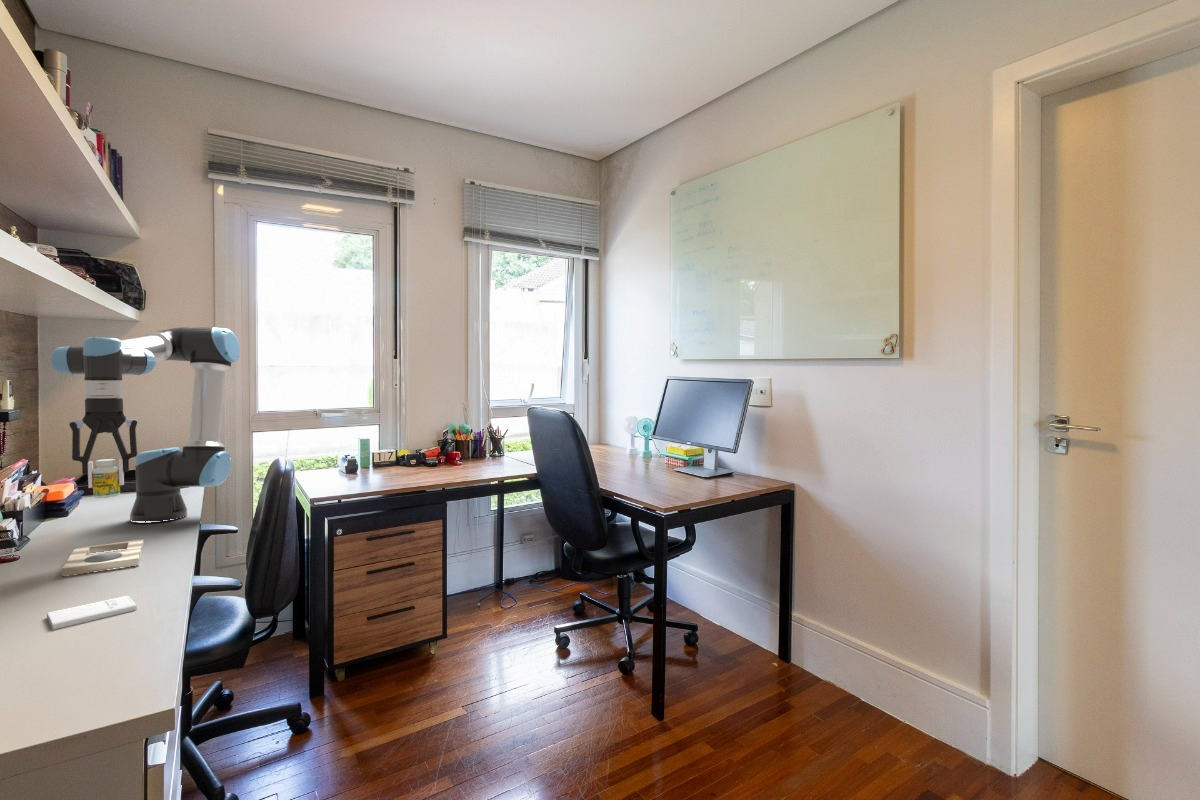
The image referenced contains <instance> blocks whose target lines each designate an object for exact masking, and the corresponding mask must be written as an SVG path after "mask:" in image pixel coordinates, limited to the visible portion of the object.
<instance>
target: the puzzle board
mask: <svg viewBox="0 0 1200 800" xmlns="http://www.w3.org/2000/svg"><path fill="white" fill-rule="evenodd" d="M118 549H126V550H121V551H113V552H106V553H98V554H90V553H96V552H104V551H111V550H118ZM142 549H143V550H144V539H137V540H127V541H122V542H121V541H119V542H112V543H106V544H96V545H90V546H89V545H88V546H81V547H74V550H73V551H72V553H71V554H70V556H68V558H67V560H66V561H65V564H64V565H63V567H62V569H61V573H62V576H67V575H74V574H81V575H83V574H82V573H87V574H89V573H88V572H94V571H100V570H107V569H113V568H120V567H129V566H135V565H139V566H140V563H139V562H141V559H140V557H141V558H142V554H141V553H143V550H142ZM89 554H90V555H89ZM135 567H136V566H135ZM129 568H130V567H129ZM94 573H95V572H94ZM62 576H61V577H62ZM74 576H75V575H74ZM67 577H68V576H67Z"/></svg>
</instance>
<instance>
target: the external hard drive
mask: <svg viewBox="0 0 1200 800" xmlns="http://www.w3.org/2000/svg"><path fill="white" fill-rule="evenodd" d="M137 606H138V605H137V604H136V602H135V601H134V600H133V599H132V597H130V596H129V595H123V596H120V597H114V598H110V599H106V600H100V601H96V602H91V603H87V604H82V605H77V606H72V607H68V608H63V609H59V610H58V609H57V610H55V611H54V610H53V611H50V612H47V613H46V619H47V621H48V623H49V625H50V627H51V629H52V630H53V631H55V630H58V629H63V628H67V627H70V626H75V625H79V624H84V623H87V622H91V621H96V620H100V619H104V618H109V617H112V616H117V615H121V614H125V613H129V612H133V610H134V611H137V610H138V607H137Z"/></svg>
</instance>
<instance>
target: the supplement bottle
mask: <svg viewBox="0 0 1200 800" xmlns="http://www.w3.org/2000/svg"><path fill="white" fill-rule="evenodd" d="M116 463H117V461H116V459H115V458H108V459H107V458H102V459H97V460H95V468H93V472H92V473H93V488H92V493H93V498H95V499H107V498H114V497H118V496H120V494H121V485H119V466H116Z"/></svg>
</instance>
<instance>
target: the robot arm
mask: <svg viewBox="0 0 1200 800" xmlns="http://www.w3.org/2000/svg"><path fill="white" fill-rule="evenodd" d="M240 347H241V346H240V344H239V340H238V338H237V335H236V334H235V333H234V332H233V331H232V330H230V329H229V328H225V327H216V326H213V327H212V326H211V327H203V326H202V327H199V326H197V327H189V326H188V327H187V326H181V327H173V328H167V329H162V330H157V331H151V332H148V333H146V334H145V335H144V336H141V337H139V336H138V337H133V338H128V339H119V338H116V337H115V338H114V337H99V336H98V337H95V336H93V337H92V336H91V337H87V338H85V339H84V340H83V345H81V346H72V345H71V346H70V345H67V346H59V347H56V348H55V349H54V350H52V352H51V355H50V362H51V367H52V368H53V369H54V371H56V372H57V373H60V374H65V375H69V374H70V375H84V379H83V380H84V381H83V382H84V388H83V389H84V396H85V397H86V398H85V399H84V415H83V417H82V419H79V420H76V421H71V422H69V424H68V425H69V427H70V430H71V431H72V435H71V436H72V439H71V440H72V444H71V445H72V446H71V447H72V451H71V452H72V453H71V454H72V455H71V460H73V461H76V462H80V463H81V467H82V468H81V472H82V473H81V474H82V475H84V476H86V475H87V477H88V478H87V482H88V484H87V485H88V489H90V488H91V489H93V473H92V472H93V470H94V461H93V460H92V461H90V458H91V456H92V453H93V452H92V451H93V449H94V446H95V444H96V441H97V437H98V435H99V434H102V433H105V434H106V433H108V434H111V435H112V436H113V439H114V441H115V444H116V446H117V449H118V452H119V453H120V454H119V455H120V457H121V459H119V460H118V468H119V485H120V486H124V485H125V478H124V477H125V473H128V472H129V470H130V459H132V458H135V465H134V468H135V491H136V495H135V496H136V497H135V500H134V503H133V505H132V508H131V512H130V514H129V521H130V520H132V521H145V522H146V521H163V520H170V519H176V518H180V517H183V516H186V515H187V516H188V508H187V505H186V503H185V501H184V498H183V496H182V494H181V493H182V492H181V488H197V487H198V488H207V487H217V486H220V485H221V484H223V483H224V482H225V481H226V479H227V478H228V477H229V475H230V473H231V469H232V465H233V464H232V462H233V461H232V456H231V454H230V453H229V452H228V451H225V447H226V446H225V445H224V444H223V443H222V442H221V431H222V419H223V417H222V416H223V407H224V404H223V403H224V396H225V395H224V392H225V381H226V373H227V372H228V371H229V370H231V368H232V363H235V362H237V361H238V360H239V357H240V355H241V354H240V353H241V349H240ZM164 361H179V362H189V366H190V367H191V368H192V369H193V370H194V375H193V377H194V378H193V388H192V390H193V391H192V401H191V412H190V413H191V415H190V425H189V438H188V441H187V442H185V443H184V444H183V445H182V451H181V449H180V447H178V446H176V447H175V446H174V447H166V448H158V449H153V450H152V449H151V450H146V451H142V452H139V453H138V445H137V444H138V443H137V442H138V441H137V430H136V429H137V425H138V423H139V421H138V420H137V419H130V418H127V417H126V415H125V414H124V399H123V398H122V396H123V395H124V391H123V390H124V386H123V385H124V384H123V381H124V380H123V375H133V376H135V375H136V376H140V375H145V374H149V373H150V372H152V371H153V370H154V369H155V367H156V364H157V363H156V362H164ZM124 423H125V424H126V426H127V428H128V432H129V433H128V434H129V446H130V449H129V450H130V453H129V452H128V451H127V449H126V446H125V444H124V440H123V438H122V436H121V433H120V430H119V429H120V428H121V426H122V425H123V424H124ZM83 425H86V426H87V427H88V428H89V430H90V434H89V438H88V441H87V443H86V445H85V446H86V447H85V449H84V452H83V455H81V429H82V428H83ZM187 516H186V517H187Z"/></svg>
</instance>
